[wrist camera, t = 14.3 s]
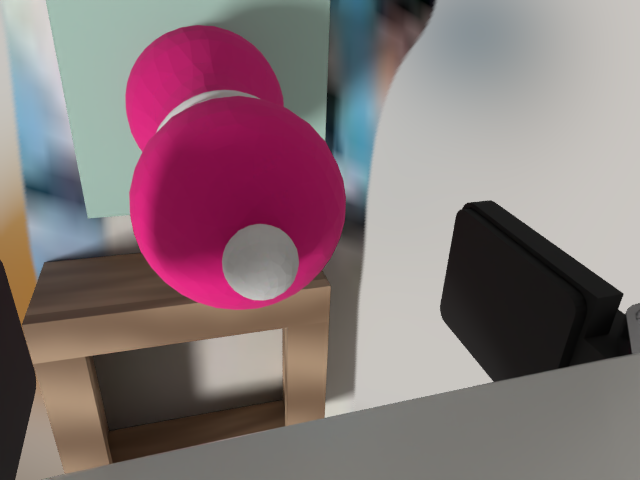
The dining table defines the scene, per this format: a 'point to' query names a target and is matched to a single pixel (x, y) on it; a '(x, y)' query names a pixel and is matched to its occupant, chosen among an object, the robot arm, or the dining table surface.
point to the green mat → (139, 32)
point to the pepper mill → (227, 173)
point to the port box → (149, 331)
